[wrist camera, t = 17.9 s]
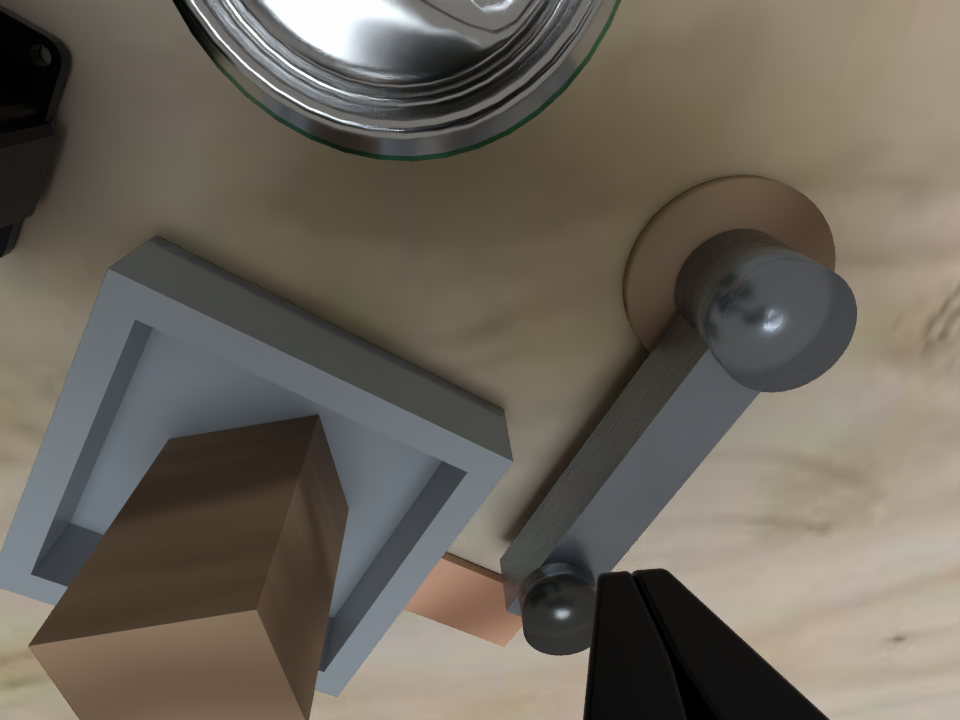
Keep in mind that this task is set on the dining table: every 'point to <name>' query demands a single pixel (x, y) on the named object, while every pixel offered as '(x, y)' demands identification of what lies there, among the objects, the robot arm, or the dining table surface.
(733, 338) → the lever
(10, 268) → the dining table surface
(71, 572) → the tray
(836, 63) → the dining table surface
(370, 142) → the soda can
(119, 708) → the block
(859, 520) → the dining table surface
